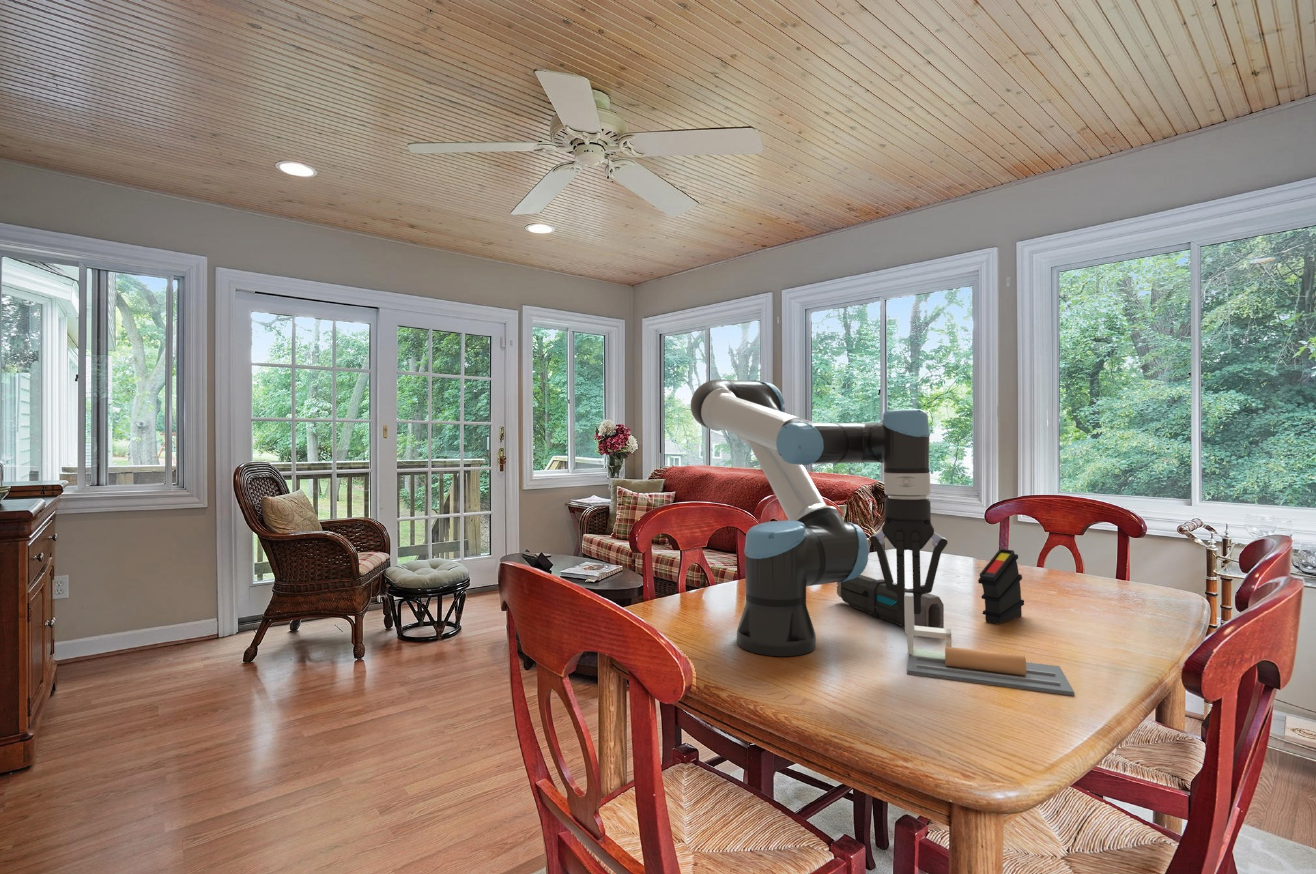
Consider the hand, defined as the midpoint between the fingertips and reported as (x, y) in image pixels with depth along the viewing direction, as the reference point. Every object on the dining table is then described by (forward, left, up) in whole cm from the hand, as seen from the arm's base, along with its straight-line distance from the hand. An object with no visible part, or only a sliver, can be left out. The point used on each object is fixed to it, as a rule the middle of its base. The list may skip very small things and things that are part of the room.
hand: (909, 631), depth 110 cm
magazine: (+18, +38, -6) cm, 42 cm away
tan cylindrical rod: (+12, 0, -5) cm, 13 cm away
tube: (-6, +30, -6) cm, 31 cm away
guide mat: (+12, +2, -6) cm, 13 cm away
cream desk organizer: (+3, +6, -5) cm, 8 cm away
